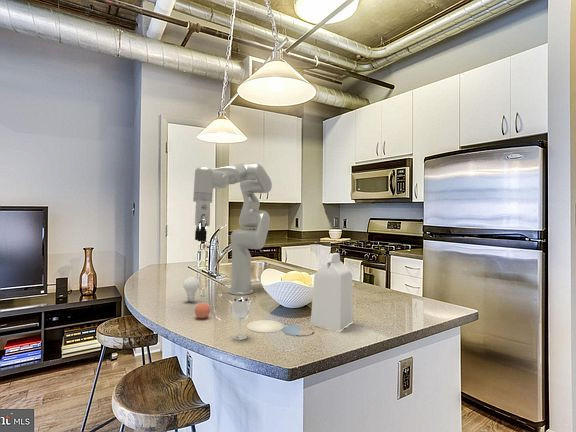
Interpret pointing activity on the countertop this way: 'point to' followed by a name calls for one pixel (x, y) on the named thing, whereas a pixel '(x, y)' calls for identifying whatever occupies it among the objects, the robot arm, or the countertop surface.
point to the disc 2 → (291, 329)
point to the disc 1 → (265, 326)
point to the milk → (332, 295)
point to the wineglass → (240, 314)
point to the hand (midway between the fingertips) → (200, 240)
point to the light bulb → (191, 287)
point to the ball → (202, 310)
